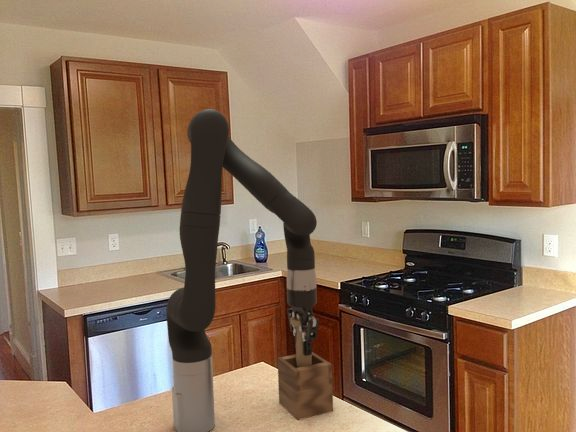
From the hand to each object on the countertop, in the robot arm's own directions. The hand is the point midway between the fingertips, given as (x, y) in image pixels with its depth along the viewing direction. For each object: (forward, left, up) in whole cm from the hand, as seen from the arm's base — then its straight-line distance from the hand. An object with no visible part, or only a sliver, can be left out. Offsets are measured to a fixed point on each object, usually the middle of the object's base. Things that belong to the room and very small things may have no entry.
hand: (303, 352), depth 129 cm
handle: (0, 0, -6) cm, 6 cm away
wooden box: (0, 0, -14) cm, 14 cm away
